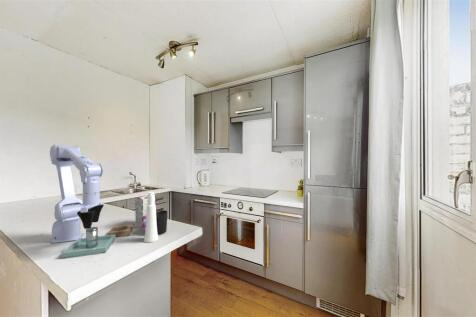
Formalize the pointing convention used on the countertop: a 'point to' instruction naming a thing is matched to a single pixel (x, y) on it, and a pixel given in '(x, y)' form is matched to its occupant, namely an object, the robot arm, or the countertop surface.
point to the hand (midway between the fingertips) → (91, 225)
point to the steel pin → (91, 237)
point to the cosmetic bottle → (151, 220)
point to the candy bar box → (141, 211)
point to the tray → (81, 250)
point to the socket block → (121, 230)
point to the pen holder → (161, 221)
